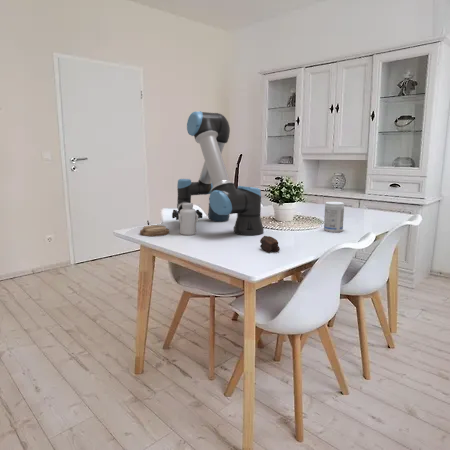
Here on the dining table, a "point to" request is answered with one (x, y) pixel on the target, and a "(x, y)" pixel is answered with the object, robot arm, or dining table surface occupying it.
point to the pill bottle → (188, 219)
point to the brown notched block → (269, 244)
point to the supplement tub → (334, 216)
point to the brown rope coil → (154, 230)
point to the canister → (216, 215)
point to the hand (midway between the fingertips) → (188, 218)
